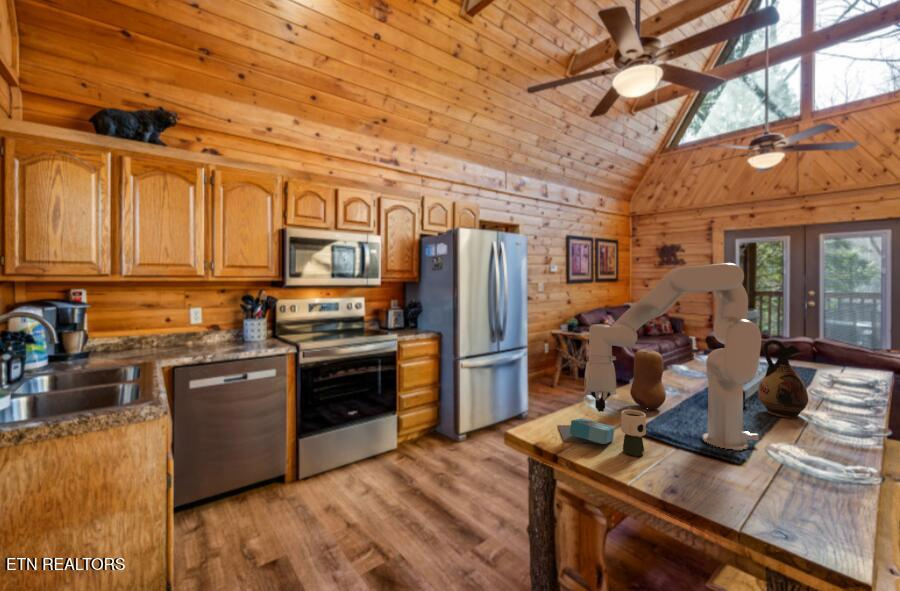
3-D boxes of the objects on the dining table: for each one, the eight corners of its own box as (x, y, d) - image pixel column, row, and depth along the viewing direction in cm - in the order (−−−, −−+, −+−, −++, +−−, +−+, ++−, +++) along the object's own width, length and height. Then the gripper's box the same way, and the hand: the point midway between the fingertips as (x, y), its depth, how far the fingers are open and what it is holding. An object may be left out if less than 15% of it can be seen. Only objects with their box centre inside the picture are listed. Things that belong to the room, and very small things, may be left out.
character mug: (638, 462, 121) (638, 420, 120) (614, 455, 126) (614, 414, 125) (651, 451, 128) (651, 411, 128) (629, 445, 133) (629, 406, 133)
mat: (590, 426, 150) (590, 425, 150) (600, 443, 135) (600, 441, 135) (557, 425, 152) (557, 424, 152) (563, 441, 137) (563, 440, 137)
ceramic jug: (803, 412, 163) (804, 338, 162) (811, 423, 150) (813, 344, 149) (751, 405, 172) (752, 336, 171) (755, 416, 159) (756, 341, 158)
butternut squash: (672, 409, 169) (672, 350, 168) (655, 415, 161) (655, 354, 160) (640, 401, 180) (640, 346, 179) (623, 406, 173) (623, 349, 172)
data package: (615, 427, 138) (606, 430, 128) (614, 440, 137) (604, 444, 128) (581, 418, 145) (569, 420, 135) (579, 430, 145) (568, 433, 135)
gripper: (619, 357, 144) (619, 407, 145) (576, 357, 146) (576, 406, 147) (625, 361, 137) (625, 414, 138) (580, 361, 139) (580, 413, 140)
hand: (600, 410), depth 142 cm, fingers closed
